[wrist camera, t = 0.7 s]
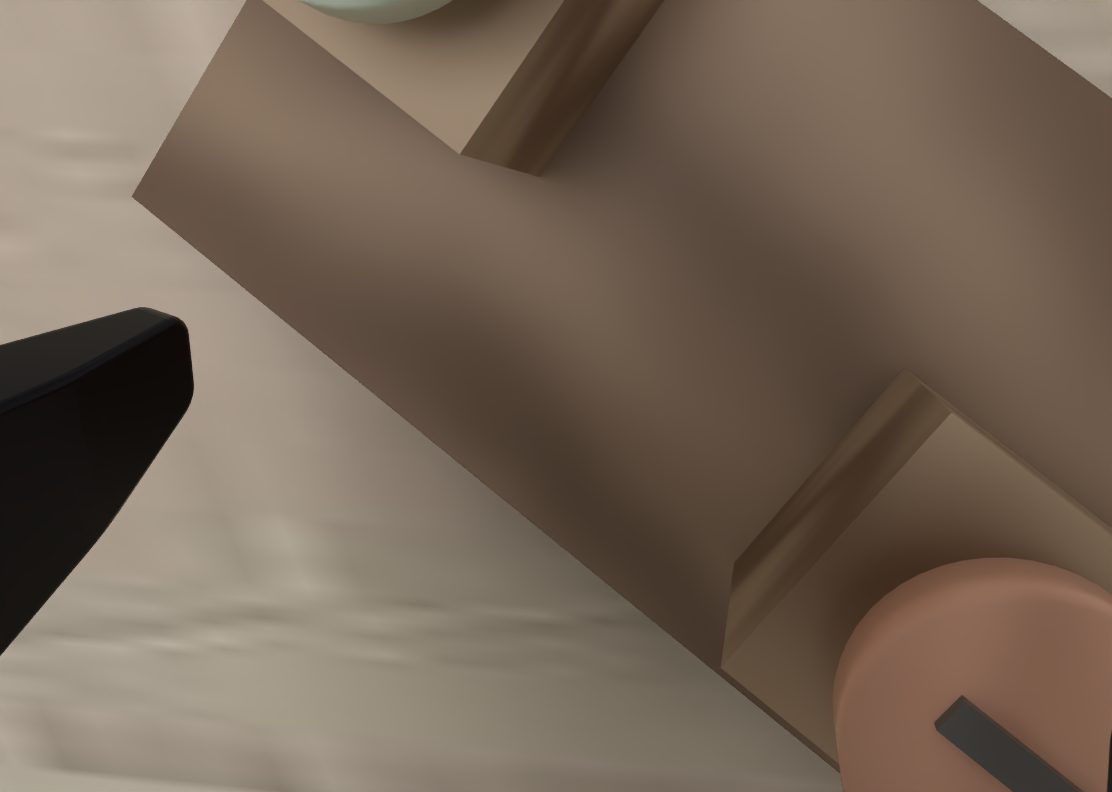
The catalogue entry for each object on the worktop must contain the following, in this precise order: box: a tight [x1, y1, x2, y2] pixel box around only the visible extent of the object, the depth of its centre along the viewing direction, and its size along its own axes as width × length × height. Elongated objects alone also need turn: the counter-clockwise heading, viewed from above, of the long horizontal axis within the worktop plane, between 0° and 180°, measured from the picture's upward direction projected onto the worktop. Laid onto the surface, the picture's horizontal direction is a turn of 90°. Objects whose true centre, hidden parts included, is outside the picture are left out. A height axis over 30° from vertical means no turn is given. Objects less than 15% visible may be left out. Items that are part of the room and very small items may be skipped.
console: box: [132, 0, 1112, 773], centre depth 19 cm, size 14×24×7 cm, turn 53°
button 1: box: [833, 558, 1112, 792], centre depth 13 cm, size 4×4×2 cm
